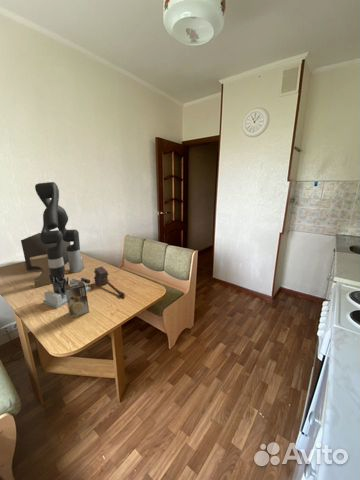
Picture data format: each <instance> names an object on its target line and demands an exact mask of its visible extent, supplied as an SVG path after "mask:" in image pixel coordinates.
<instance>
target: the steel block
mask: <svg viewBox="0 0 360 480" xmlns="http://www.w3.org/2000/svg"><path fill="white" fill-rule="evenodd" d="M62 282H63V281H61V283H62ZM62 285H63V284H62ZM52 289H53V292H54V293H57V294H60V295H61V297H62V296H64V295H66V293H64V294H63V293H62V289H61V285H60V283H59V282H58V281H52Z"/></svg>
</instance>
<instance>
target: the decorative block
mask: <svg viewBox="0 0 360 480" xmlns="http://www.w3.org/2000/svg"><path fill="white" fill-rule="evenodd" d="M29 259H30V264H31V266H37V267H40V268H41V269H42V270H41V273H40V274H39V275H38V276H37V277H34V278H33V282H34V286H35V288H36V289H37V288H39V287H44V286H47V285H51V284H52V283H51V280H50V277H49V275H50V270H49V265H48V256H47V254H46V255H40V256H35V257H30V258H29ZM52 285H53V284H52Z"/></svg>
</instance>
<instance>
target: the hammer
mask: <svg viewBox="0 0 360 480" xmlns="http://www.w3.org/2000/svg"><path fill="white" fill-rule="evenodd" d="M93 273H94V277H93V279H94V282H95V283H96V285H98V286H99V287H101V286H104V285H108V286H109V287H110V288H111V289H113V290H114V291H115V292H116V293H117V294H118V295H119V297H120V298H126V295H125V292H123V291H122V290H121V291H120V290H119V289H118V288H117V287H115V286H114V285H113V284H112V283H111V282H110V279H108V276H109V271H108V270H106V268H104V266H99V267H95V268H94V271H93Z"/></svg>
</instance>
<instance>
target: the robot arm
mask: <svg viewBox="0 0 360 480" xmlns="http://www.w3.org/2000/svg"><path fill="white" fill-rule="evenodd" d="M34 189H35V192H36V194H37V196H38V197H39V200H40V201H41V202H42V204H43V206H44V207H45V209H44V210H43V212H42V213H43V214H42V224H43V225H42V229H41V231H40V233H41V234H40V241H41V242H42V243H43V244H52V243H57V244H56V246H53V247H50V248H48V249H47V256H48V265H49V270H50V275H49V277H50V280H51V283H52V281H58V282H59V283H60V285H61V289H62V293H63V294H64V293H65V288H64V286H65V285H69V277H68V276H67V277H66V276H65V272H66V265H64V260H63V257H62V250H61V245H62V239H63V240H64V241H65V242H70V243H72V242H73V244H71V245H70V246H68V247H67V248H66V249H67V255H68V268H69V272H70V273H73V274H75V273H79V272H81V271H83V270H84V261H83V259H84V258H83V257H82V255H81V246H80V245H81V243H80V235H79V234H80V233H79V231H78V230H77V229H67V228H66V226H67V223H68V222H69V216H68V214H67V212H66V209H65V208H64V207H62V206H60V205H59V199H60V189H59V187H58V184H57V183H56V182H53V181H50V182H38V183H36V184H35V185H34ZM55 229H56V230H55ZM61 281H63V282H62V283H61ZM62 284H63V285H62Z"/></svg>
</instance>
